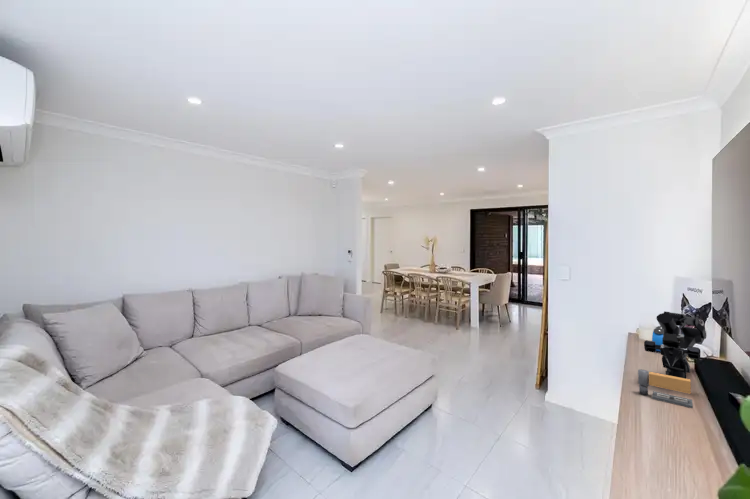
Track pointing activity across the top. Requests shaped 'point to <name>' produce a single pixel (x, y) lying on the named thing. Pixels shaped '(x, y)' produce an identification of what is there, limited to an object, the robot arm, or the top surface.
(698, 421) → the top surface
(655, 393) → the label plate
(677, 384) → the swing bar
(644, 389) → the grey grooved cylinder
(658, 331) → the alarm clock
